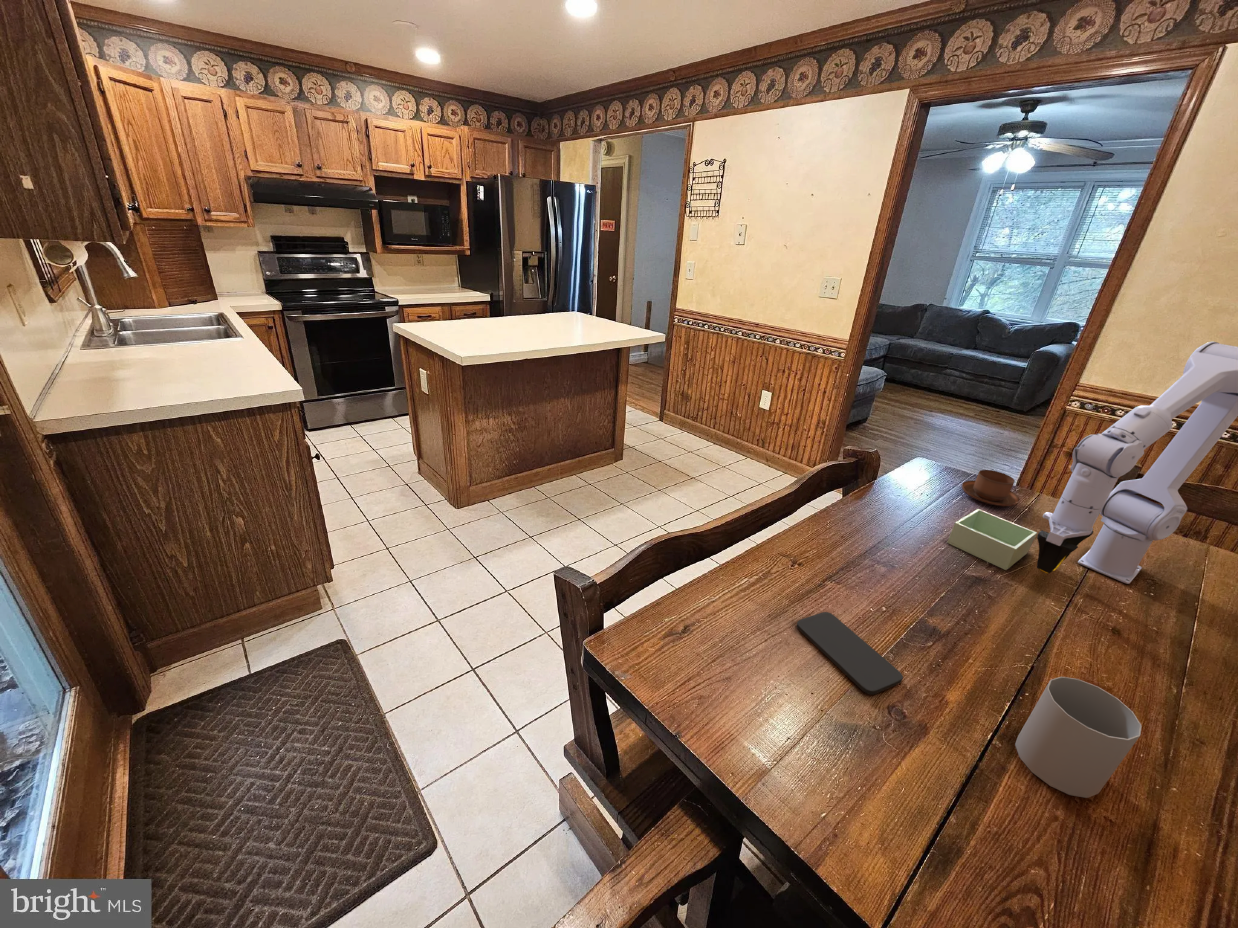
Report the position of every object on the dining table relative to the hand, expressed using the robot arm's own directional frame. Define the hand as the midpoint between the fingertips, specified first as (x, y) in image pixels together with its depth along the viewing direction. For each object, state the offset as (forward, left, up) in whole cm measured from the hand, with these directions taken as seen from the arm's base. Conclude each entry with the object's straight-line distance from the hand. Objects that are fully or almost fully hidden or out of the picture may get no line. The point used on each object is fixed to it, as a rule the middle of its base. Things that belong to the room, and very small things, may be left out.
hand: (1050, 564), depth 96 cm
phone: (+50, -10, -3) cm, 51 cm away
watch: (0, 0, -2) cm, 2 cm away
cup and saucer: (-27, -20, -4) cm, 34 cm away
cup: (+44, +15, -4) cm, 47 cm away
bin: (-2, -11, -3) cm, 11 cm away
